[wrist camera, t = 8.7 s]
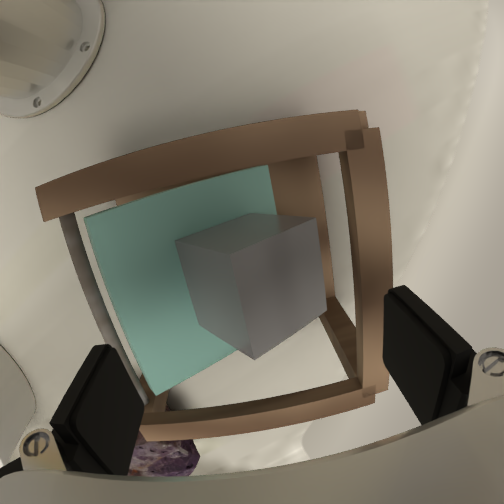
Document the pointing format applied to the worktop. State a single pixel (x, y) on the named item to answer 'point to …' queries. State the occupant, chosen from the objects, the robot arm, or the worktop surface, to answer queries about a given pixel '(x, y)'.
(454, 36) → the worktop surface
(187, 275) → the gray cube
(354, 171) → the frame
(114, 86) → the worktop surface
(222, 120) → the worktop surface
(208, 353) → the trapdoor
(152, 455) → the rock
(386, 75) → the worktop surface
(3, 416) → the toilet paper roll
